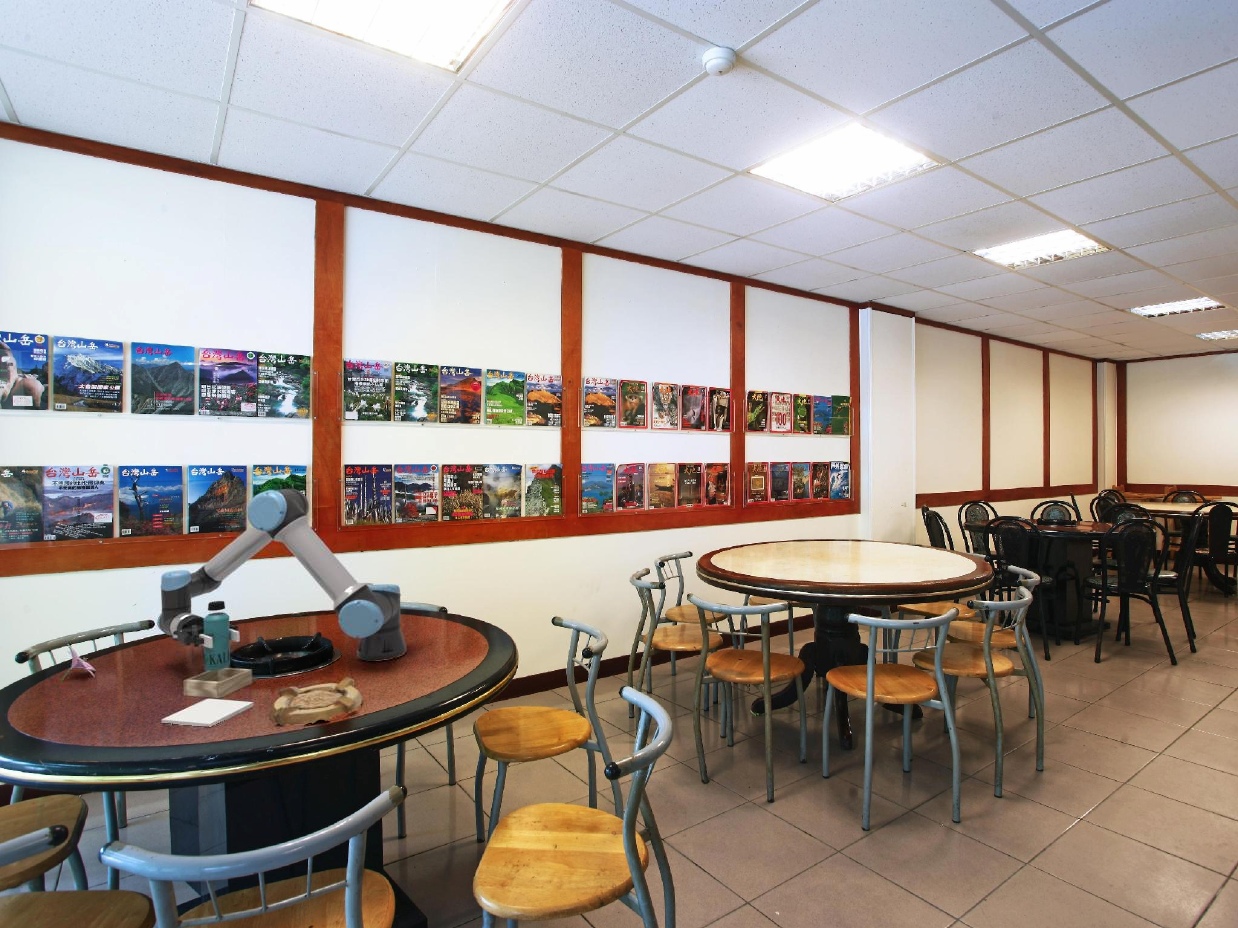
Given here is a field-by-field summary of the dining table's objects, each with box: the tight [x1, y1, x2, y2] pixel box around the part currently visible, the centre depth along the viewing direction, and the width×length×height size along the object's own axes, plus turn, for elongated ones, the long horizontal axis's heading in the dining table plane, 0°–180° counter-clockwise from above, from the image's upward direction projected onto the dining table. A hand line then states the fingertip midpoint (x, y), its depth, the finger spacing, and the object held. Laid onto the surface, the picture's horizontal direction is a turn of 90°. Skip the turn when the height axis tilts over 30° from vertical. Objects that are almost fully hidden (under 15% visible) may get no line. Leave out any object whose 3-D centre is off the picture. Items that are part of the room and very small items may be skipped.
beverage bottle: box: [202, 600, 231, 671], centre depth 185 cm, size 6×7×20 cm
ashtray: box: [268, 676, 363, 726], centre depth 171 cm, size 24×24×5 cm
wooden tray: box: [183, 667, 253, 699], centre depth 185 cm, size 12×12×4 cm
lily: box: [61, 643, 96, 681], centre depth 195 cm, size 12×12×10 cm
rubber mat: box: [161, 698, 254, 728], centre depth 167 cm, size 14×14×1 cm
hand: (224, 639), depth 182 cm, fingers closed on beverage bottle, 6 cm apart
